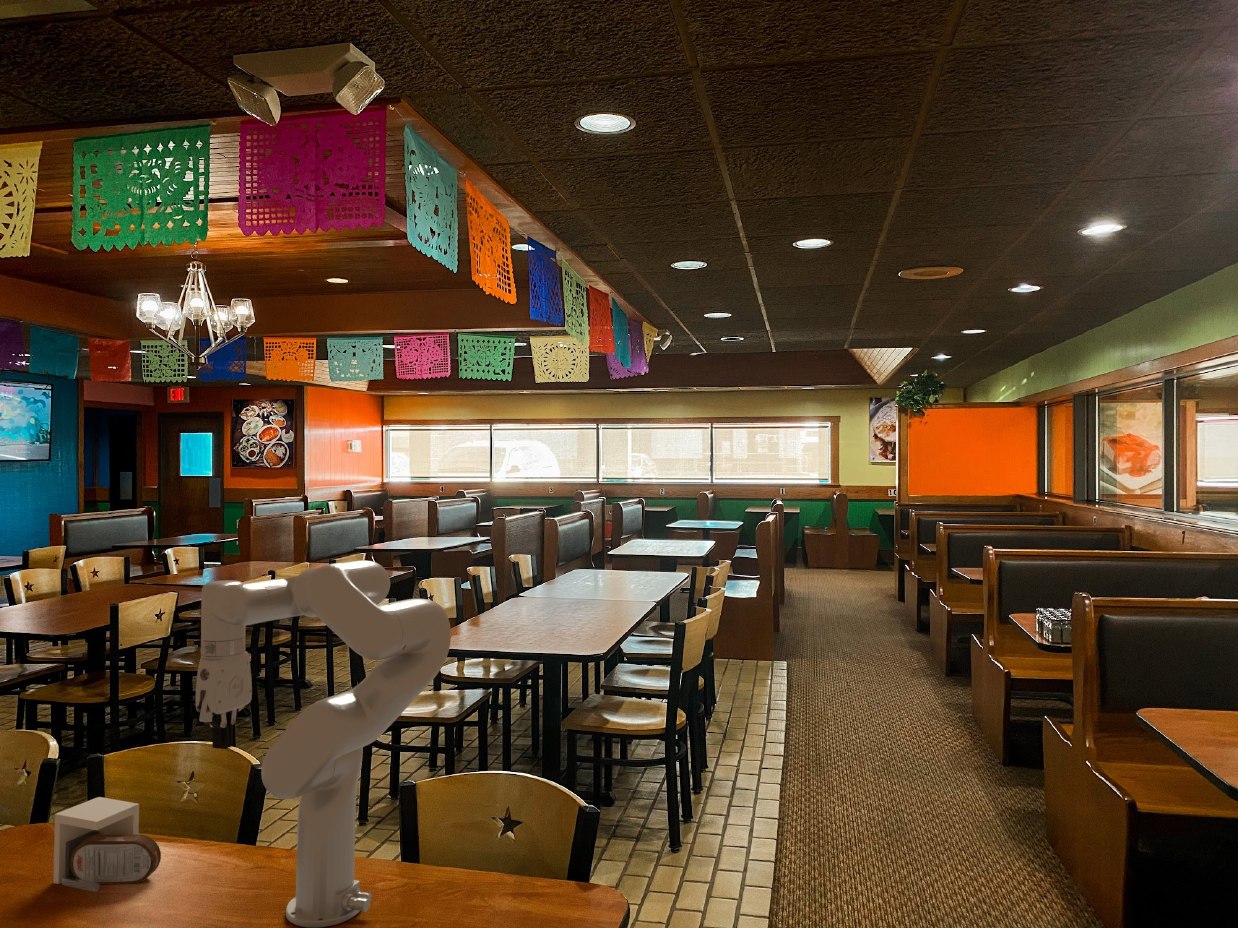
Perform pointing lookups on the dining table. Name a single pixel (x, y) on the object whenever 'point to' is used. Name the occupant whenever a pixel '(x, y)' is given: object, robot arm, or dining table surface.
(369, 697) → the robot arm
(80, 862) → the tin
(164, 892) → the dining table surface
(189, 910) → the dining table surface
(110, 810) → the white u-channel
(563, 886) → the dining table surface
